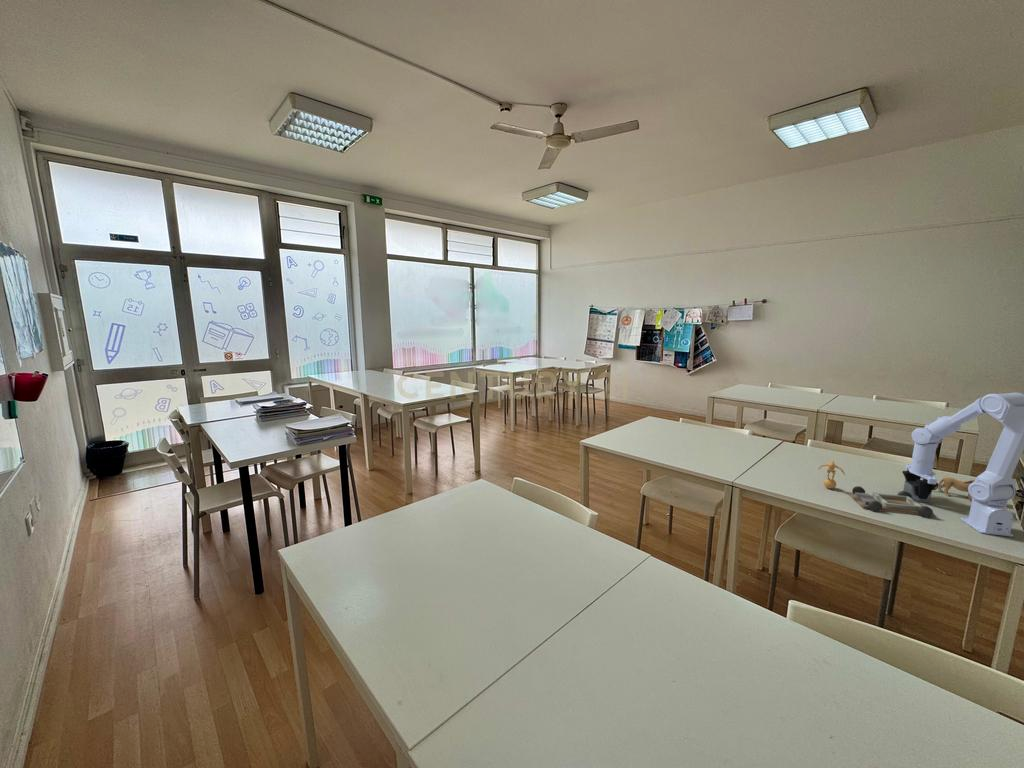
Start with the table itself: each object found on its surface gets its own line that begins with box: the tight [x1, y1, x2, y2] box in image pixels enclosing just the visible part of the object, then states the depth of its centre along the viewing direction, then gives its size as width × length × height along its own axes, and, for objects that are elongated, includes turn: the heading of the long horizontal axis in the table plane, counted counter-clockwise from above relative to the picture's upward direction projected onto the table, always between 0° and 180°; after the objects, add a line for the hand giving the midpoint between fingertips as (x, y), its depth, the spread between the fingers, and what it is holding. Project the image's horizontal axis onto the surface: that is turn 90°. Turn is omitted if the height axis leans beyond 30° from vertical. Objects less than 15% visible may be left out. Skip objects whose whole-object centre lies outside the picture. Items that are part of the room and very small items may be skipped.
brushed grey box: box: [902, 480, 933, 504], centre depth 154 cm, size 4×6×6 cm
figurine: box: [818, 460, 845, 489], centre depth 162 cm, size 8×6×12 cm
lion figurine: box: [932, 477, 976, 503], centre depth 154 cm, size 15×5×9 cm, turn 44°
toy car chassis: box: [848, 485, 936, 518], centre depth 149 cm, size 13×20×4 cm
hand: (916, 494), depth 154 cm, fingers open, 6 cm apart
